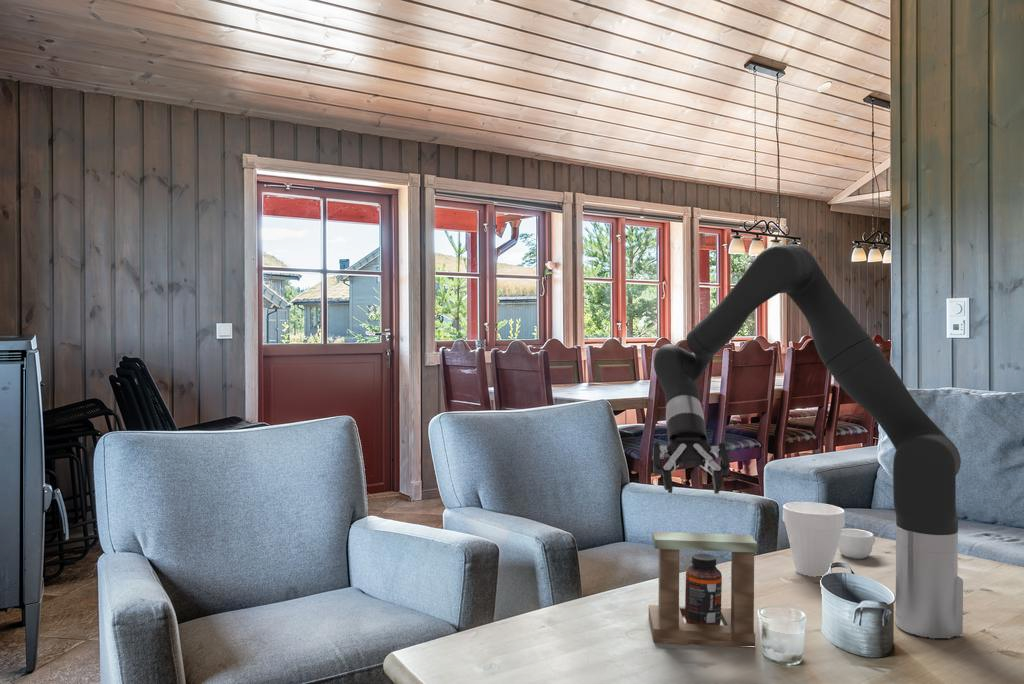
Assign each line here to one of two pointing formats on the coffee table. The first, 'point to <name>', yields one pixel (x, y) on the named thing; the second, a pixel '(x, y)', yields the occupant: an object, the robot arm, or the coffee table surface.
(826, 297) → the robot arm
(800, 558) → the white flower pot
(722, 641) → the socket stand
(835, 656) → the coffee table surface
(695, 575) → the supplement bottle
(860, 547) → the teacup
